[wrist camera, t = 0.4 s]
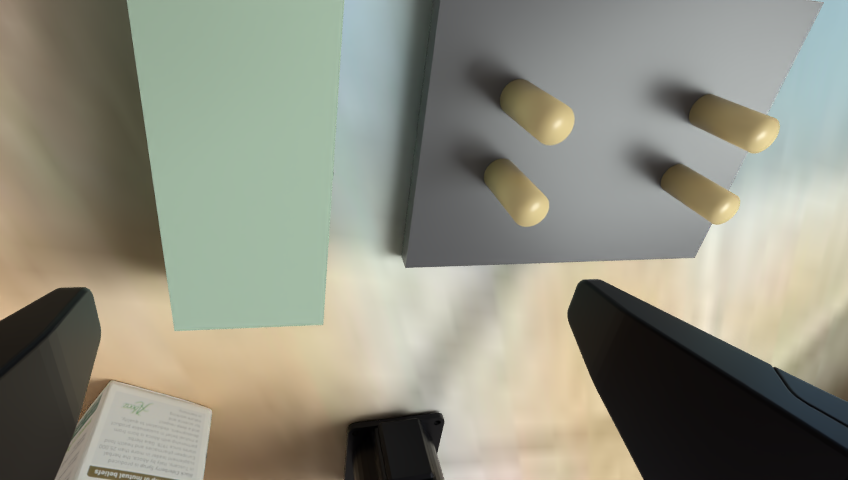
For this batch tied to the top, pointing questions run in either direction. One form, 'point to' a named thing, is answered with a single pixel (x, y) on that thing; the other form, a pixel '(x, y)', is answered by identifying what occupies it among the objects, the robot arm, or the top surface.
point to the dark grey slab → (591, 125)
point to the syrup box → (138, 438)
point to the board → (241, 153)
